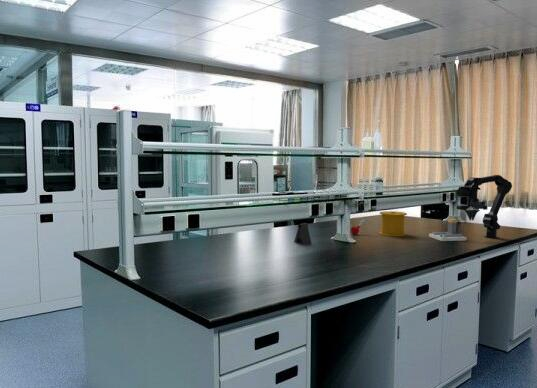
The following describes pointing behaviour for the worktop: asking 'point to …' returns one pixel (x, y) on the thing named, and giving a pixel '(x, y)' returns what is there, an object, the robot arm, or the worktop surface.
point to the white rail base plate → (447, 236)
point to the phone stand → (303, 234)
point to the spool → (392, 223)
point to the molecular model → (356, 229)
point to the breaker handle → (451, 226)
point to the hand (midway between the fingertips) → (471, 220)
